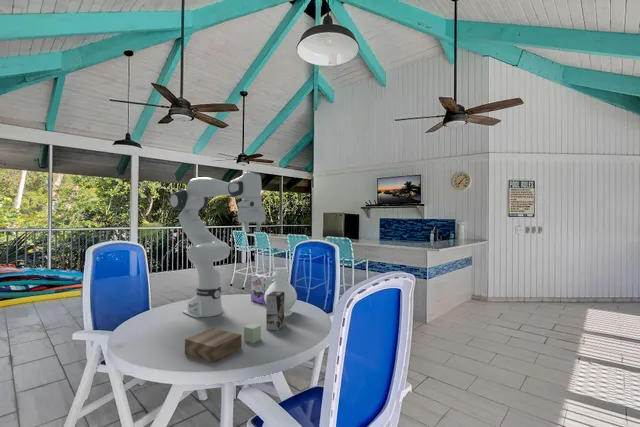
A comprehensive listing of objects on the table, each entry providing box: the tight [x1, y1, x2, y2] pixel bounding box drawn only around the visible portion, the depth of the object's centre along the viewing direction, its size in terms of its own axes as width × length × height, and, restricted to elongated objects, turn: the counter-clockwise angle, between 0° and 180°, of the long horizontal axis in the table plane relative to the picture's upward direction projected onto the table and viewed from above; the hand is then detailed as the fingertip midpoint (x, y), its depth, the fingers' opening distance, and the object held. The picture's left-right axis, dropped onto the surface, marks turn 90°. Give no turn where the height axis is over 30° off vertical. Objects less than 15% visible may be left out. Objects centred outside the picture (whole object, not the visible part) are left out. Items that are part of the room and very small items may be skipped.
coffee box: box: [265, 292, 285, 331], centre depth 151 cm, size 9×6×16 cm
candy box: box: [250, 273, 273, 305], centre depth 196 cm, size 14×6×16 cm, turn 50°
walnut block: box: [184, 327, 242, 364], centre depth 124 cm, size 16×14×6 cm
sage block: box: [243, 323, 262, 344], centre depth 135 cm, size 5×5×6 cm
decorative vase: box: [264, 266, 298, 318], centre depth 172 cm, size 18×18×25 cm
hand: (252, 231), depth 156 cm, fingers open, 8 cm apart
